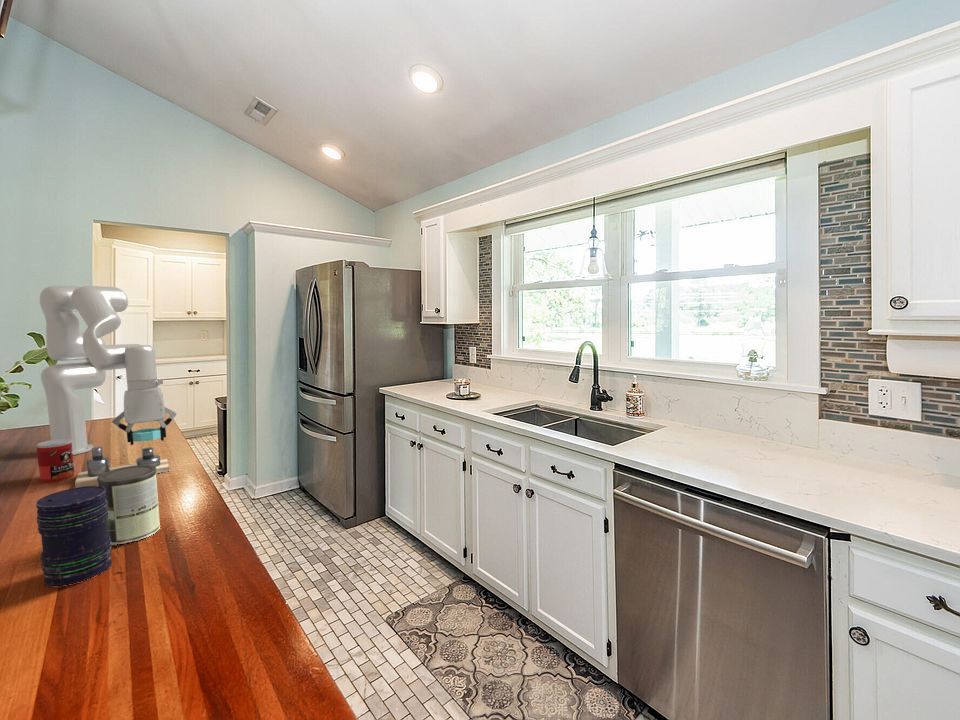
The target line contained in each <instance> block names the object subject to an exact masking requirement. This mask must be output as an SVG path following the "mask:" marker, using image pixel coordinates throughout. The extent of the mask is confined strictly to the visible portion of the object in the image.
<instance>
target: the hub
mask: <svg viewBox="0 0 960 720" xmlns="http://www.w3.org/2000/svg"><path fill="white" fill-rule="evenodd" d="M141 454H142V456H140V457H137V458H136V461H135V462H136V463H137V465H151V466H155V467H157V466H159V465H160V460H161V456H160V455H156V454H154V447H145V448H142V449H141ZM136 463H135V464H136Z"/></svg>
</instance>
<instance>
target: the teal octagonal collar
mask: <svg viewBox="0 0 960 720" xmlns="http://www.w3.org/2000/svg"><path fill="white" fill-rule="evenodd" d="M132 431H133V434H132V435H133V442H141V443H142V442H148V441H154V440H158V439H161V431H160V427H150V428H142V429H138V430H132Z"/></svg>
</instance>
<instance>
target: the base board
mask: <svg viewBox="0 0 960 720" xmlns="http://www.w3.org/2000/svg"><path fill="white" fill-rule="evenodd" d="M136 465H137V463H131V464H124V465H119V466H118V465H117V466H111V467H110V471H111V470H114V469H118V468H123V467H128V466H136ZM156 469H157V471H156V473H160V474H162V473H161V472H166V473H168V472H167V471H169V472H170V465H169V461H168V458H162V459H161V458H160V465H159V466H157V467H156ZM97 477H98V476H97ZM97 477H89V476H88V470H86V471H81V472H80V471H79V472H78V474H77V477H76V479H75V482H74V485H75V487H74V488H78V487H87V486H98V481H97Z"/></svg>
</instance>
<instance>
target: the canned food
mask: <svg viewBox="0 0 960 720" xmlns="http://www.w3.org/2000/svg"><path fill="white" fill-rule="evenodd" d="M36 454H37V455H36V456H37V464H38V473H39V480H40V481H41V482H43V483H56V482H61V481H65V480H67V479H70V477H71V478H72V477H74V476H75V464H74V455H73V451H72V442H71V440H70V439H56V440H51V439H48V440H45V441H42V442H39V443H36ZM64 479H65V480H64Z"/></svg>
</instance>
